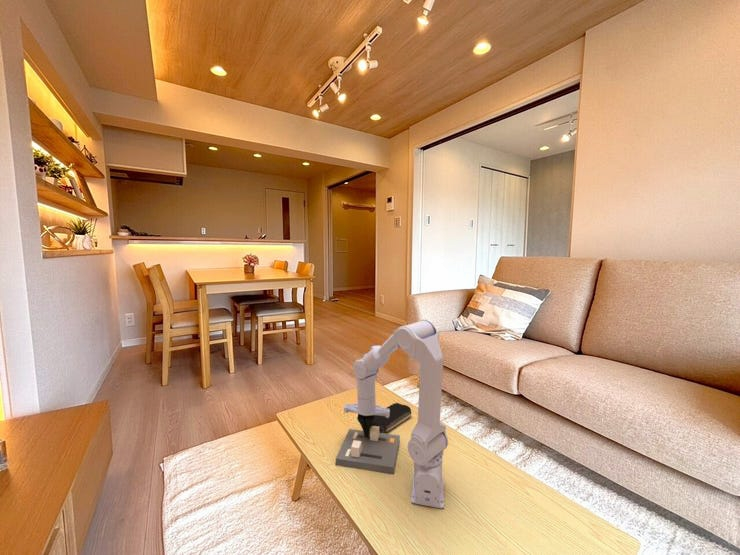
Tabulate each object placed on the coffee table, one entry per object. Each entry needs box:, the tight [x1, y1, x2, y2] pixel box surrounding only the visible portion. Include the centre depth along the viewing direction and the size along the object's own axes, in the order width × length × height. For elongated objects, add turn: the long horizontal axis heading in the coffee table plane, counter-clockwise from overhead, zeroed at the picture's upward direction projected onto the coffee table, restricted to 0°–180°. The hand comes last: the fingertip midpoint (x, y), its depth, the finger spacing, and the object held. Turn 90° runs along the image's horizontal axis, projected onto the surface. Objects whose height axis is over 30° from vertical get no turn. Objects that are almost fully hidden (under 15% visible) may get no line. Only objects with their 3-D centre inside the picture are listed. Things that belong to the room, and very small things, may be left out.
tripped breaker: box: [370, 426, 380, 441], centre depth 95 cm, size 3×2×3 cm
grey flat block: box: [335, 428, 401, 475], centre depth 91 cm, size 14×17×2 cm
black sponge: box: [371, 402, 412, 434], centre depth 107 cm, size 16×8×4 cm, turn 133°
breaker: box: [351, 440, 362, 457], centre depth 88 cm, size 3×2×3 cm
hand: (367, 434), depth 95 cm, fingers closed
